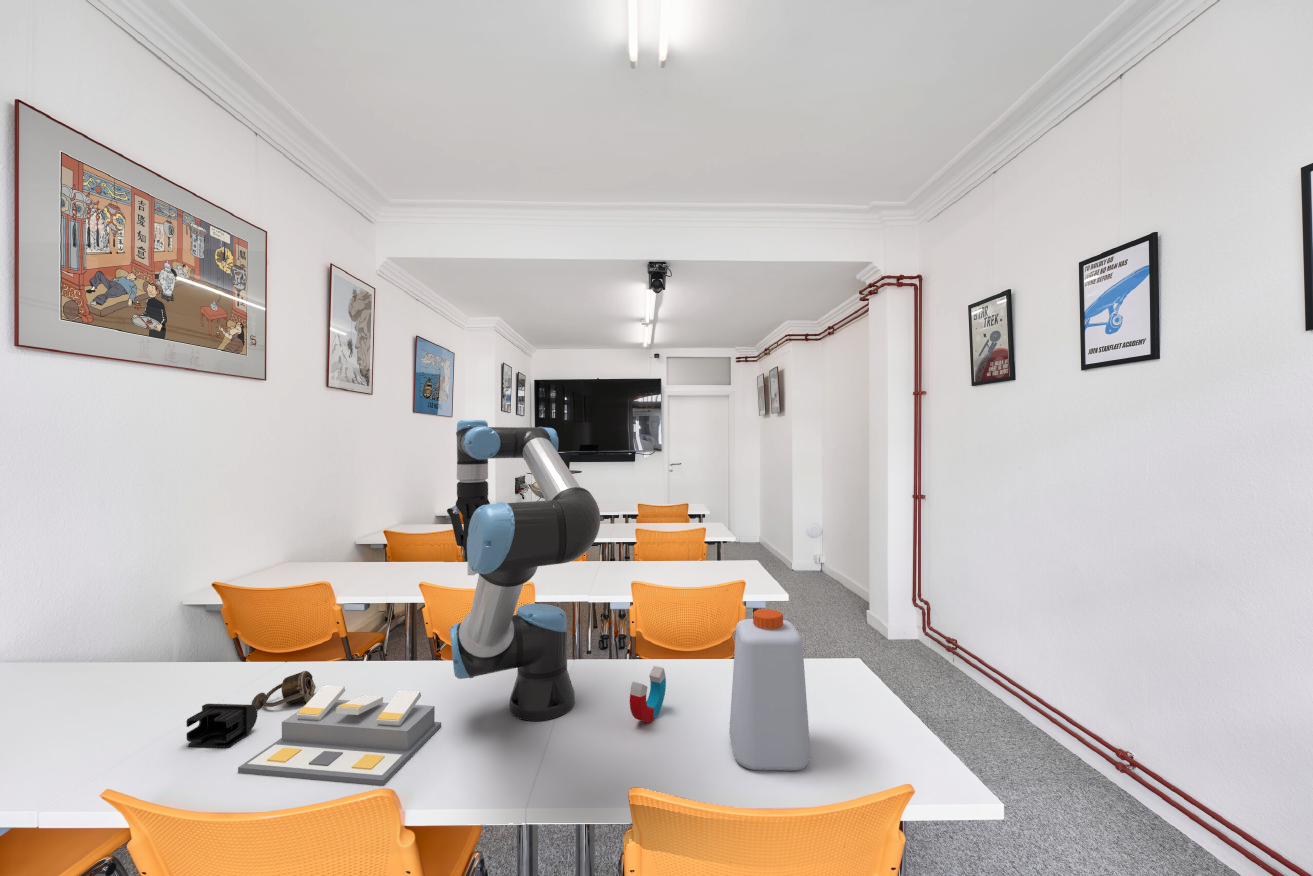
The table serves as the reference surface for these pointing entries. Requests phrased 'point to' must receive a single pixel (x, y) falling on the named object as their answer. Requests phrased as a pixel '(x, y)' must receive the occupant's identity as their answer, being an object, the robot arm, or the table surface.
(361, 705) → the rocker middle
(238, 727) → the end cap
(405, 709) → the rocker
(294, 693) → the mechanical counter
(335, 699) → the rocker
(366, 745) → the switch unit
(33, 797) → the table surface
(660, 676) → the magnet
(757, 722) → the plastic bottle
